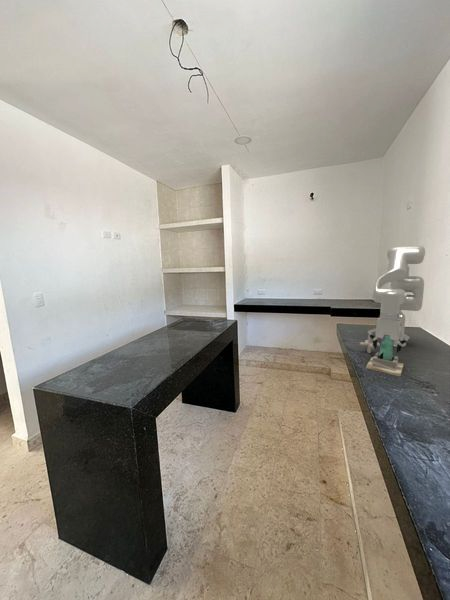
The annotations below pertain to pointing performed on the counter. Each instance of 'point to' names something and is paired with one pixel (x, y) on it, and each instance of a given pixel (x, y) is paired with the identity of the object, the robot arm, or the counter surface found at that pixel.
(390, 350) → the spray can
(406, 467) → the counter surface
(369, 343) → the pipe connector
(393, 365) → the collar block
